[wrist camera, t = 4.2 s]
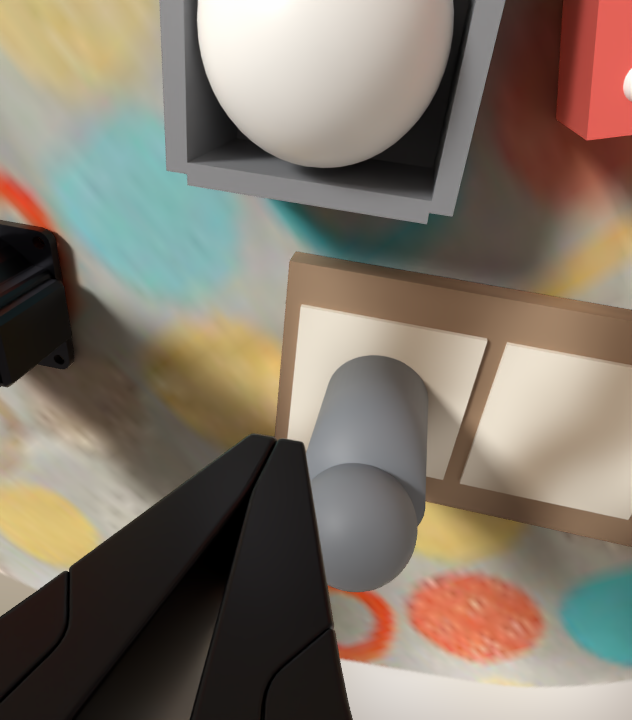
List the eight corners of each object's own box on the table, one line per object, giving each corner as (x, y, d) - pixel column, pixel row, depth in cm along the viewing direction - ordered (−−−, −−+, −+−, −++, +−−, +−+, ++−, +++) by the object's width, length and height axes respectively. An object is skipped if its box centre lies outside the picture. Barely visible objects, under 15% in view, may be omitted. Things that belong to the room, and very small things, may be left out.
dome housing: (222, 152, 19) (167, 181, 15) (226, -150, 14) (150, -216, 11) (447, 187, 18) (449, 228, 14) (519, -123, 14) (550, -186, 10)
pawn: (321, 428, 22) (268, 604, 15) (333, 346, 20) (277, 507, 13) (416, 448, 22) (406, 638, 15) (438, 366, 20) (438, 544, 13)
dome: (240, 132, 17) (158, 170, 12) (247, -111, 14) (140, -194, 9) (425, 160, 17) (419, 213, 12) (476, -88, 13) (499, -165, 8)
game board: (277, 453, 25) (270, 470, 24) (295, 251, 20) (288, 262, 19) (802, 567, 23) (819, 591, 22) (983, 371, 17) (1017, 391, 16)
